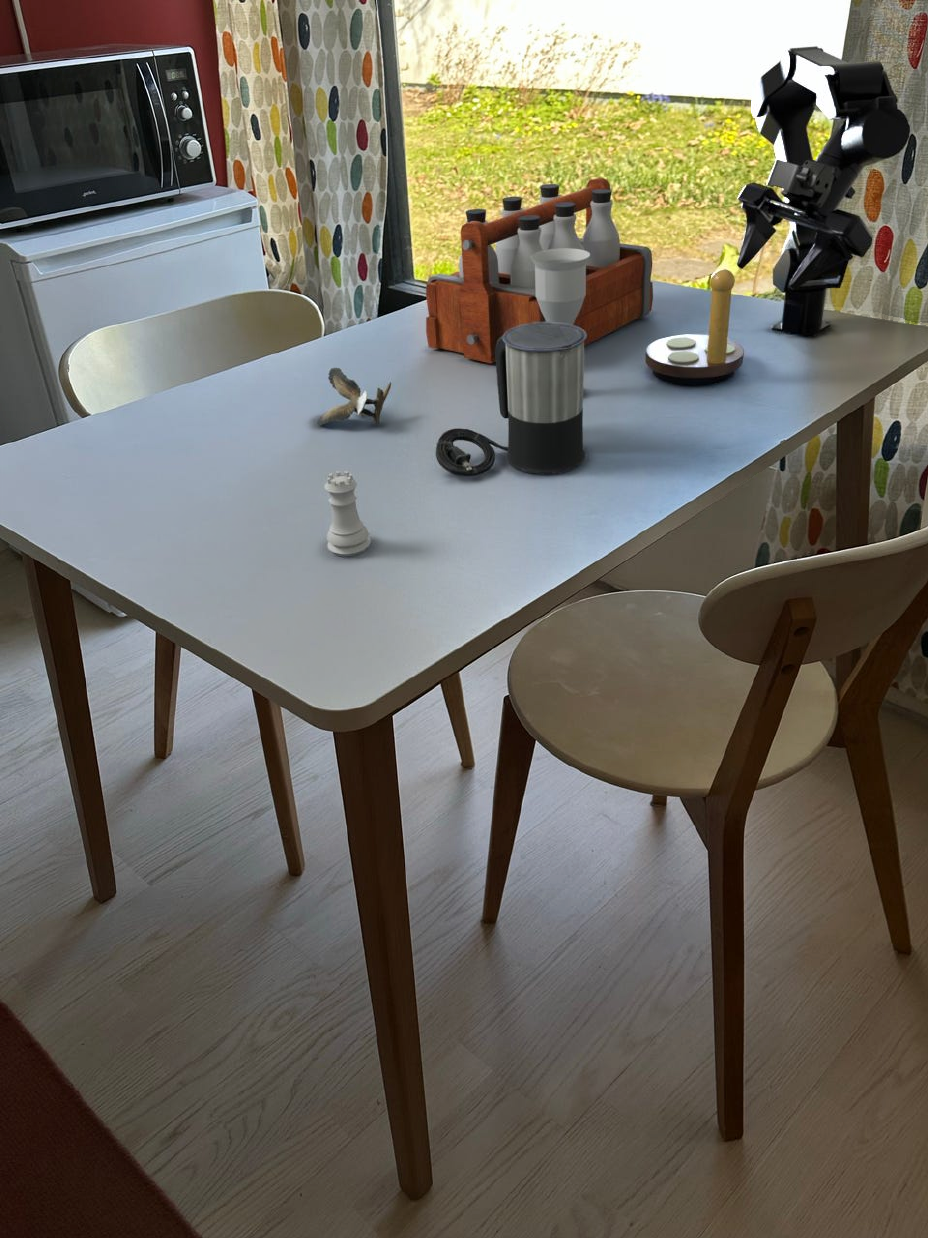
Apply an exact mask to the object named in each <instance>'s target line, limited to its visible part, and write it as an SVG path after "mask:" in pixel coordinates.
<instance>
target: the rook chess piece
mask: <svg viewBox="0 0 928 1238" xmlns="http://www.w3.org/2000/svg"><path fill="white" fill-rule="evenodd" d="M334 475H335V476H334ZM326 480H327V481H326V483H325V485H324V490H325V491H326V492H327V493H328V494H329V495H330V496H329V498H328V503H329V504H330V505H331V524H330V525H329V530H328V531H327V534H326V539H327V544H326V546H327V549H328V550H329V551H330V552H331V553H332V554H334V555H335V556H338V557H344V558H345V557H348V558H349V557H354V556H358V555H361V554H362V553H364V552H365V551H367V550H368V548H369V546H370V544H371V541H372V540H371V538H370V536H369V535H370V533H369V530H368V528H367V526H366V525H365V524H364V521H362V520H361V518H360V516H359V512H358V509H357V503H356V501H357V499H358V496H357V495H356V494H355V490H356V488H357V487H358V481H356V480H355V478H354V477H353V474H352V473H350V472H349V471H347V470H344V471H343V474H341V471H340V470H338V471H337V470H336V471H334V474H333V473H329V474H327V477H326Z"/></svg>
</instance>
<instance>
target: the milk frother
mask: <svg viewBox="0 0 928 1238" xmlns="http://www.w3.org/2000/svg"><path fill="white" fill-rule="evenodd" d="M586 337H587V334H586V332H585V331H584V330H583V329H581V328H580V327H577V326H575V325H571V324H566V323H560V322H533V323H529V324H523V325H519V326H516V327H513V328H511V329H509V330H507V331H506V332H505V333H504V334H503V336H501V337H500V338H499V339H498V341H497V344H496V349H495V360H496V361H495V370H496V380H497V394H498V395H497V396H498V406H499V414H500V415H501V417H502V418H503V419H505V420H506V419H508V420H507V422H508V425H507V426H508V429H507V430H508V433H507V435H508V439H507V441H508V442H507V443H508V444H507V446H504V445H501V444H499V443H497V442H495V441H494V440H492V439H491V438H489V437H488V436H486V435H483V434H482V433H479V432H477V431H474V430H473V429H469V428H461V427H459V428H456V427H455V428H451V429H448V430H446V431H445V432H443V433H442V434H441V435H440V436H439V438H438V440H437V442H436V443H435V444H436V446H435V458H436V461H437V463H438V465H439V466H440V467H441V468H442V469H443V470H445V471H447V472H448V473H450V474H452V475H455V476H457V477H458V476H459V477H476V476H480V475H483V474H485V473H488V472H489V471H490V470H492V467H493V466H494V463H495V461H496V453H495V450H494V448H498V449H500V450H502V451H506V452H507V453H506V457H505V458H506V462H507V463H508V464H509V465H510V466H511V467H512V468H514V469H516V470H518V471H521V472H525V473H531V474H535V475H536V474H537V475H538V474H539V475H550V474H551V475H552V474H559V473H564V472H568V471H570V470H573V469H576V468H577V467H578V466H580V465H582V463H583V462H584V461H585V458H586V450H584V433H583V432H584V427H583V423H584V422H583V418H584V414H583V413H584V408H583V405H584V379H585V378H584V375H585V346H584V341H585V339H586ZM458 441H464V442H469V443H471V444H474V445H476V446H477V447H478V448H480V449H481V450H482V452H483V455H484V459H483V460H482V461H481V462H480V463H478V464H476V465H472V466H471V464H470V462H471V461H470V460H471V459H472V456H471V455H472V454H470V453H466V452H465V451H464V450H462V448H460V447H459V446H456V445H454V442H458ZM493 447H494V448H493Z"/></svg>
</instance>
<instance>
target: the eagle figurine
mask: <svg viewBox="0 0 928 1238" xmlns="http://www.w3.org/2000/svg"><path fill="white" fill-rule="evenodd" d="M327 379H328V381H329V384H331V385H332V386H331V387H332V388H333V389H335V390H336V391H337V393H338V394H339V395H340V396H341V397H343V398H345V399H347V400H349V401H348V402H347V403H344V404H341V405H337V406H334V407H331V408H330V409H328V410H327V411H326V413H324V415H323V416H320V417H319V418H318V419H317V420H316V424H317V426H323V425H326V424H327V423H331V422H336V421H337V422H342V421H345V420H348V419H349V418H351V415H353V413H356V415H357V416H361V417H363V416H364V415H365V416H367V417H371V418H373V420H374V422H375V424H376V425H377V427H379V426H380V425H381V422H380V418H381V413H382V410H383V406H384V403H385V401H386V400H387V396H388V395H389V393H390V390H391V387H392V382H391V381H390V382H389V383H388V384H387V386H386V387H385V390H383V389H381V388H380V387H377V390H376V398H375V399H371V398H368V391H367V390H364V391H363V393H362V394H361V392H362V390H361V388H360V387H359V384H358V383H357V382H355V380H354V379H350V378H348V377H347V375H345V374H344V372H343V370H342V369H341V368H340V367H332V368H330V370H329V371H328V377H327ZM367 405H368V406H369V405H373V406H374V411H373V412H372V411H371V410H370V409H368V408H365V406H367Z"/></svg>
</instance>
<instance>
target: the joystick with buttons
mask: <svg viewBox="0 0 928 1238" xmlns="http://www.w3.org/2000/svg"><path fill="white" fill-rule="evenodd" d="M735 282H736V279H735V275H734V274H733V273H732V271H730V270H729V269H726V268H721V269H717V270H715V272H713V273H712V275H711V277H710V279H709V287H710V288H711V298H710V310H709V311H710V312H709V325H708V334H680V335H671V336H667V337H664V338H663V337H662V338H660V339H657V340H654V341H653V342H651V343H650V344H648V345H647V347H646V348H645V357H644V360H645V361H644V362H645V365H646V366H647V367H648V368H649V369H650V370H654V371H656V372H658V373H661V374H665V375H669V376H674V377H682V378H708V377H716V376H721V375H725V374H729V373H731V372H734V371H737V370H739V369H740V368H741V367H742V366H743V365H744V358H745V357H744V356H745V349H744V347H743V346H742V345H741V344H740V343H738V342H736V341H734V340H732V339H730V338H728V337H729V327H730V326H729V324H730V315H731V314H730V312H731V300H732V299H731V298H732V290H733V288H734V286H735Z"/></svg>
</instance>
